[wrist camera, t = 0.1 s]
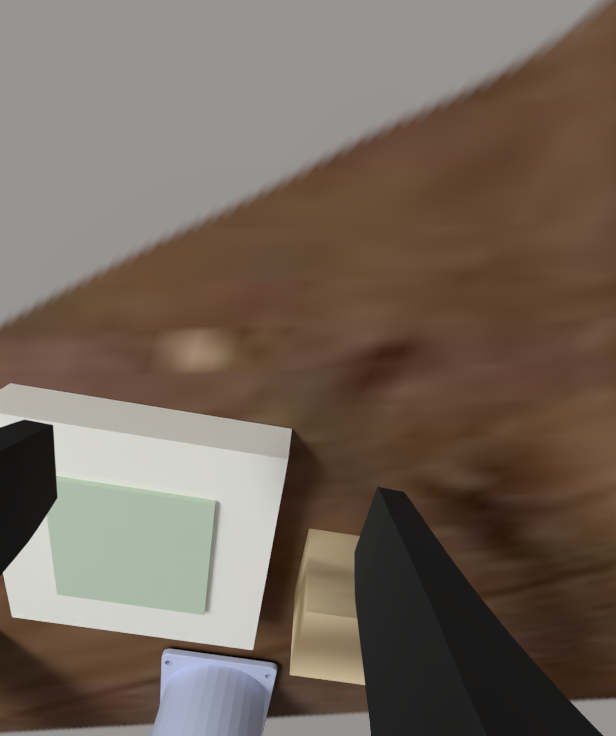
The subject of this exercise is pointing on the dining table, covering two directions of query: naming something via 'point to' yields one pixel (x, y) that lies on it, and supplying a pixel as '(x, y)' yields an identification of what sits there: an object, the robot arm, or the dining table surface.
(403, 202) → the dining table surface
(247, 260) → the dining table surface
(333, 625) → the birch block
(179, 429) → the base plinth
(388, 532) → the robot arm
